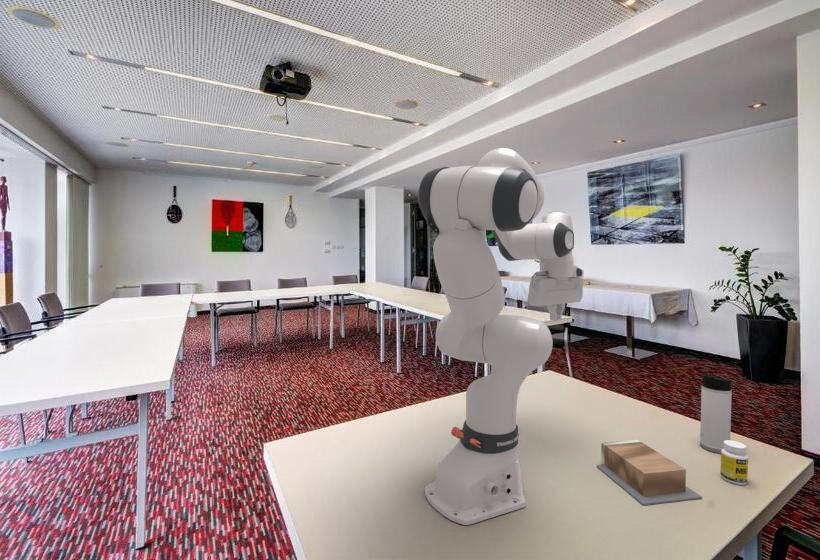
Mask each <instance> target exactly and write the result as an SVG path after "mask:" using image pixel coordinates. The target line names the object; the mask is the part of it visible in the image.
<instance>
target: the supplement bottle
mask: <svg viewBox="0 0 820 560" xmlns="http://www.w3.org/2000/svg"><path fill="white" fill-rule="evenodd" d="M747 452H748V451H747V445H745V443H742V442H739V441H736V440H731V439H730V440H725V441H724V448H723V449H722V450H721V454H720V474H719V475H720V477H721V478H722V479H723V480H725V481H726V482H729V483H731V484H735V485H739V486H743V485H746V484H748V473H749V471H748V470H749V456H748V454H747Z"/></svg>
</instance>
